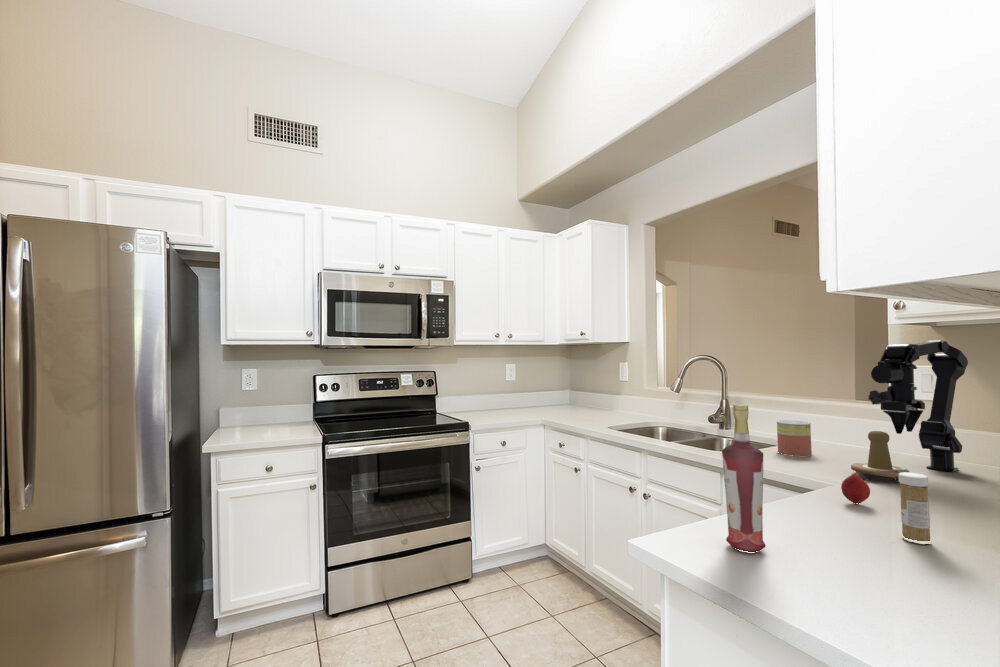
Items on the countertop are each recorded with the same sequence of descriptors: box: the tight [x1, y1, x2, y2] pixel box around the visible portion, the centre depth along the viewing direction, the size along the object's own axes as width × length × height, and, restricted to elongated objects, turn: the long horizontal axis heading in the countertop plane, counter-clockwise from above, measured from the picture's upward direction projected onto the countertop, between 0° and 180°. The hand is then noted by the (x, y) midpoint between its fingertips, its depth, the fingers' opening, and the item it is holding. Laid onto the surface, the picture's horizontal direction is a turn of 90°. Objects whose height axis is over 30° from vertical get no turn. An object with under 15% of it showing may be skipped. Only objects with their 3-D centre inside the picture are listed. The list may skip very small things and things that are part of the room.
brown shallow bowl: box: [850, 462, 910, 483], centre depth 144 cm, size 14×14×4 cm
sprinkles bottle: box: [898, 471, 931, 541], centre depth 95 cm, size 5×5×14 cm
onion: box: [840, 471, 871, 505], centre depth 119 cm, size 6×6×8 cm
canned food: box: [776, 420, 813, 457], centre depth 181 cm, size 11×11×12 cm
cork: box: [867, 430, 893, 470], centre depth 144 cm, size 6×6×11 cm
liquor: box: [721, 404, 766, 552], centre depth 92 cm, size 7×7×28 cm
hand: (904, 432), depth 148 cm, fingers open, 9 cm apart
